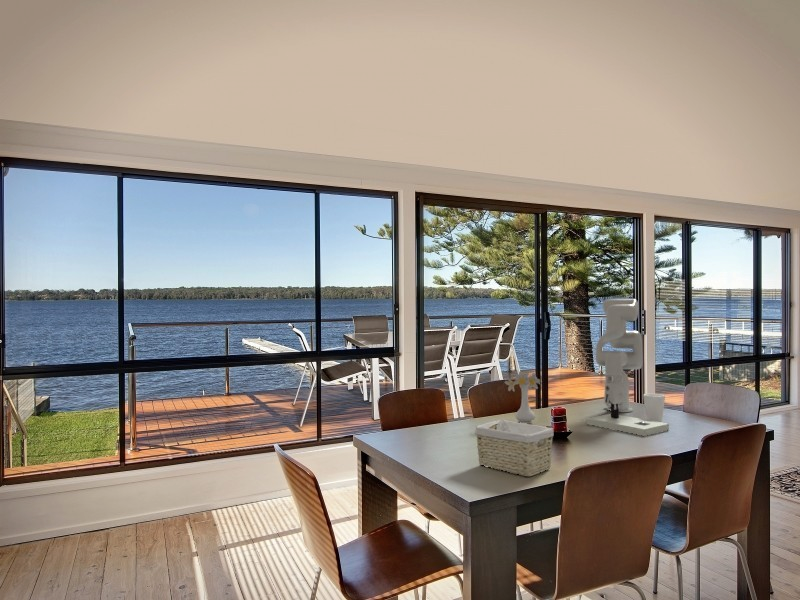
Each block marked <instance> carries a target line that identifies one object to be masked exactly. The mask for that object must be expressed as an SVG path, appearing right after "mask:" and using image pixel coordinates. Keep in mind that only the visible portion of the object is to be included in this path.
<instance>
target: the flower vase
mask: <svg viewBox="0 0 800 600" xmlns="http://www.w3.org/2000/svg"><path fill="white" fill-rule="evenodd" d="M506 379H507V380H505V381H504V385H507V386H508V388H507V391H508V392H510V391H513V392H515V386H516V385H519V388H520V390H521V403H520V408H519V409H518V410H517V412H516V413H515V418H516V420H517V421H518V423H519V422H521V423H531V422H532V423H533V421H534V420H535V418H536V415H535V412H534V411H533V410H532V408H531V407H530V405H529V389H532V388H534V389H535V390H538V389H539V387H538V384H539V385H541V379H540V378H538V377H537V375H536V373H535V372H534V371H532V374H531V375H530V376H529V372H528V371H527V372H524V373H523V371H521V370H520V371H518V373H517V374H516V375H515V378H514V381H513V380H512V379H510V378H509V377H508V376H506ZM532 423H531V424H532Z"/></svg>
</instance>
